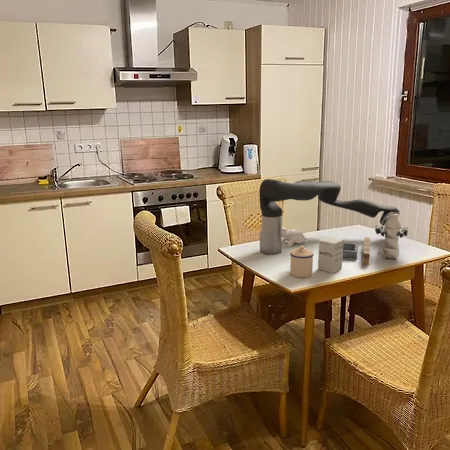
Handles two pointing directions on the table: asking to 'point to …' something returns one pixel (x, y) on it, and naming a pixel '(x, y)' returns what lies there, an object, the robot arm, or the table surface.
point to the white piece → (293, 236)
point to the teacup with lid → (301, 262)
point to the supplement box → (330, 254)
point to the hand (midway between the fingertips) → (392, 234)
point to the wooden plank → (366, 251)
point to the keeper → (350, 250)
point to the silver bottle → (391, 236)
